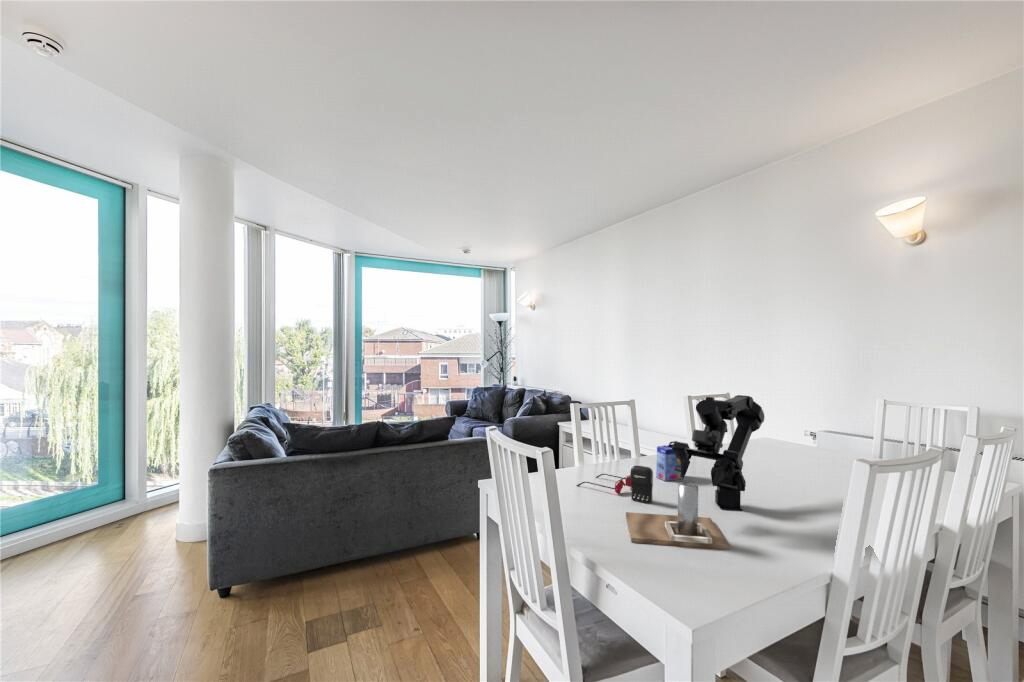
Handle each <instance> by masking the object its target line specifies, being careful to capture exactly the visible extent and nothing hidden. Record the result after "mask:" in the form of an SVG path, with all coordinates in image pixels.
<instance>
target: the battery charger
mask: <svg viewBox="0 0 1024 682" xmlns="http://www.w3.org/2000/svg"><path fill="white" fill-rule="evenodd" d="M629 475H630V482H632V487H631V497H630V498H631V500H632V501H635V502H639V503H644V504H650V503H652V502H653V501H654V500H653V493H654V492H653V487H654V471H653V469H652V468H651V467H650V466H647V465H641V464H634V465H633V466H632V467H631V469H630V474H629Z"/></svg>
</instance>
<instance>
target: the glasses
mask: <svg viewBox="0 0 1024 682" xmlns="http://www.w3.org/2000/svg"><path fill="white" fill-rule="evenodd" d="M601 476H609V477H614V478H618V479H619V480H617V481H616V482H615V484H614V487H611V486H605V485H603V484H599V483H598V484H597V483H594V482H589V481H582V482H580V483H578V484H576V485H575V486H576V487H579V486H582V485H583V484H586V483H587V484H590V485H595V486H599V487H602V488H607V489H611V490H615V493H616V494H617V495H619V494H621V492H622V490H623V488H624V487H630V488H632V482H630V474H629V475H627V476H624V477H622V476H617V475H612V474H608V473H601V474H599V475H597V476H595V478H596V479H597V478H600V477H601ZM624 480H625V482H624ZM623 486H624V487H623Z"/></svg>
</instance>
